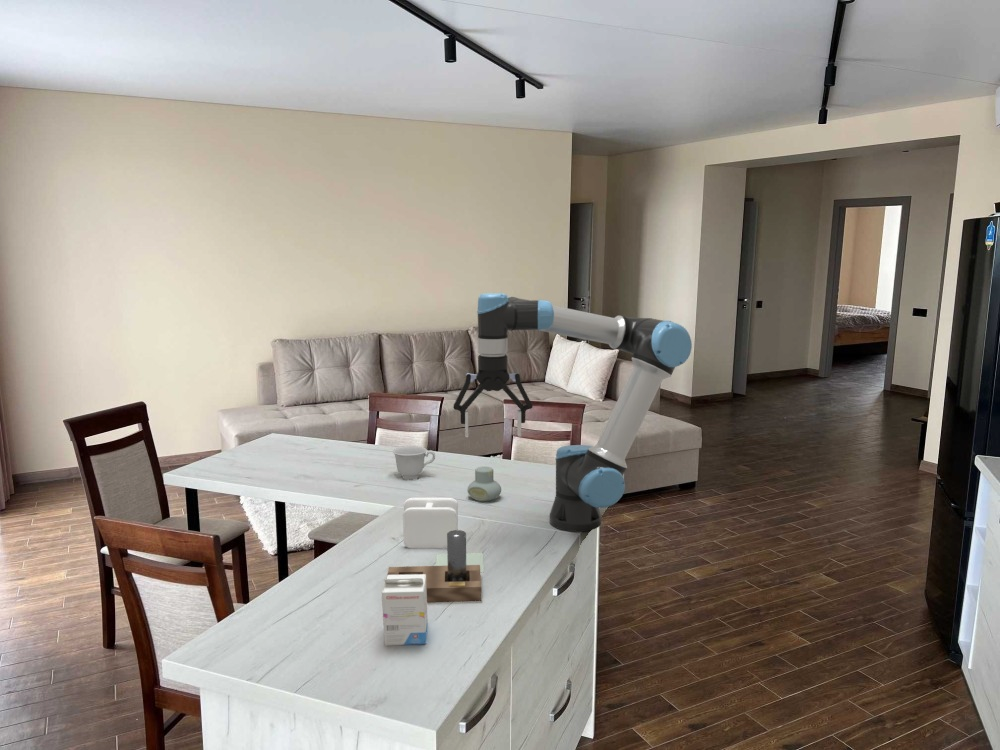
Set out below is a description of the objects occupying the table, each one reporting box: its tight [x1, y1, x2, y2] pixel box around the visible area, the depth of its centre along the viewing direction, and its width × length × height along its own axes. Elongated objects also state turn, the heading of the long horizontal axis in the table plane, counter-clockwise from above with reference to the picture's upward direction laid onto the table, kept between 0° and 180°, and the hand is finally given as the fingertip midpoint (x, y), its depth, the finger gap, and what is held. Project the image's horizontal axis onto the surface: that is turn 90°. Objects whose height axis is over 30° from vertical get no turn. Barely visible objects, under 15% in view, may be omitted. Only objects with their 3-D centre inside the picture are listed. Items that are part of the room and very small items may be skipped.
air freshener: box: [466, 466, 502, 502], centre depth 237 cm, size 11×8×10 cm
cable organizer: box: [402, 497, 459, 549], centre depth 201 cm, size 15×11×12 cm
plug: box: [446, 529, 467, 582], centre depth 172 cm, size 4×4×14 cm
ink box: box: [381, 574, 429, 646], centre depth 152 cm, size 9×8×13 cm
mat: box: [435, 552, 485, 574], centre depth 187 cm, size 12×12×1 cm
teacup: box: [392, 445, 436, 481], centre depth 259 cm, size 12×15×10 cm
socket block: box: [386, 565, 482, 604], centre depth 173 cm, size 22×12×4 cm, turn 93°
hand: (493, 435), depth 190 cm, fingers open, 13 cm apart
